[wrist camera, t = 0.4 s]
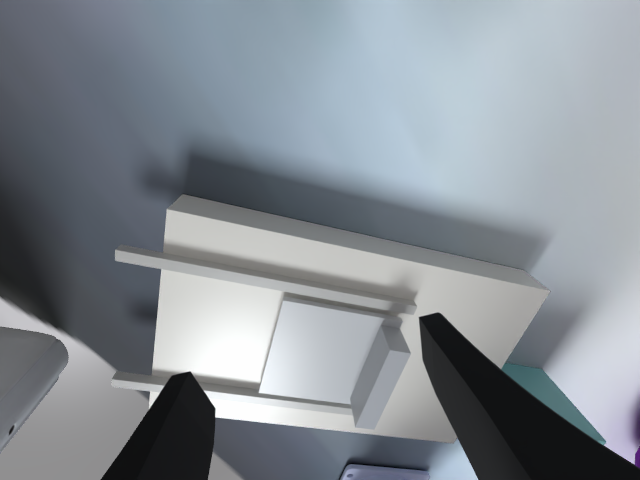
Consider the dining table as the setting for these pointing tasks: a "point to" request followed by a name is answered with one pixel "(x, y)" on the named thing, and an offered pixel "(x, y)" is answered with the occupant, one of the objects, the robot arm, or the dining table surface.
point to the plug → (550, 396)
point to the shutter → (336, 357)
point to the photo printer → (26, 375)
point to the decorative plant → (637, 458)
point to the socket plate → (318, 286)
